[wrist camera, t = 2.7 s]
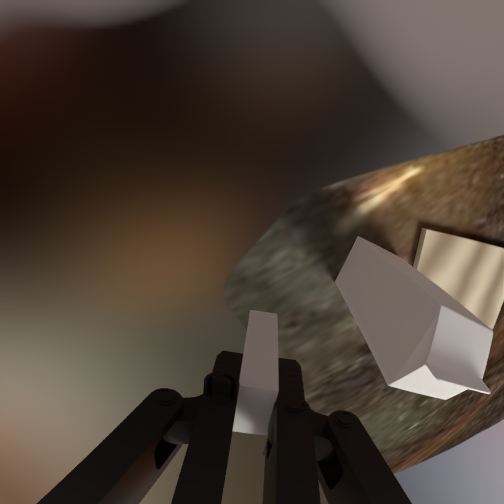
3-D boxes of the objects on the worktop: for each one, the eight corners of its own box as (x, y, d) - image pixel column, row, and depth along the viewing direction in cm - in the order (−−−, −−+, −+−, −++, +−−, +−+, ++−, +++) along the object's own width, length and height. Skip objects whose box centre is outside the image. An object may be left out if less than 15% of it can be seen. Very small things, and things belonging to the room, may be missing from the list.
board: (512, 250, 31) (517, 252, 30) (488, 325, 34) (492, 328, 33) (422, 227, 32) (426, 229, 30) (396, 319, 35) (400, 323, 34)
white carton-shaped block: (375, 299, 34) (462, 430, 13) (333, 281, 34) (401, 422, 13) (399, 254, 33) (520, 355, 11) (357, 233, 32) (469, 331, 11)
